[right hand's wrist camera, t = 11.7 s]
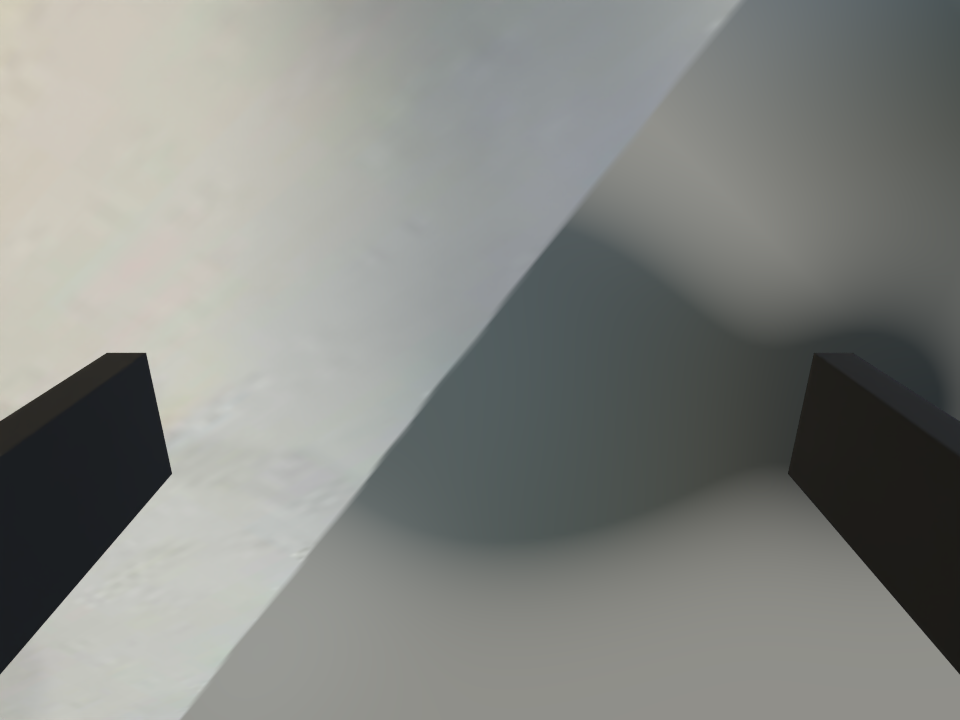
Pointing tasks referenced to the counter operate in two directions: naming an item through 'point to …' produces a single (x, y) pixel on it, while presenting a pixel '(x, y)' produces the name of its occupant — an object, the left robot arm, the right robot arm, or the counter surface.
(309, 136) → the counter surface
